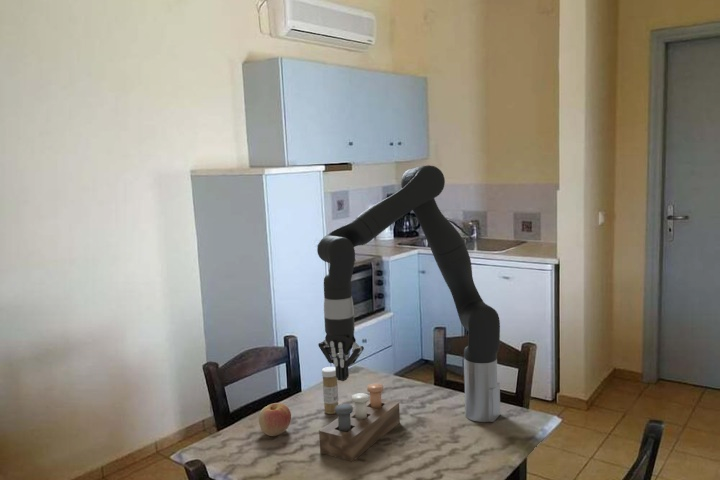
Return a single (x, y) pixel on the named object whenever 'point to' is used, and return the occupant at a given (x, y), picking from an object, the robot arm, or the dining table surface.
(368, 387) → the terracotta plug
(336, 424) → the walnut block
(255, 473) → the dining table surface
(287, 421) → the apple
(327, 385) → the sprinkles bottle
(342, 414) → the charcoal plug
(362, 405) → the cream plug
